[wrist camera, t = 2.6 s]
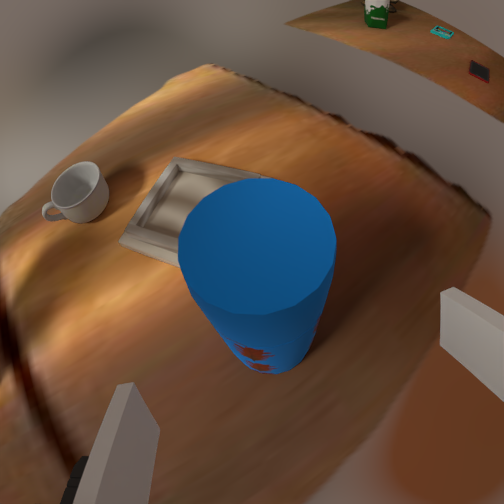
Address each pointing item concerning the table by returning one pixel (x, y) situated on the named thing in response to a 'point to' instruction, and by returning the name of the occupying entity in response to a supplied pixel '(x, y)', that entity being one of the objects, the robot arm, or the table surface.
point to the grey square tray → (174, 206)
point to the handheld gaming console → (441, 33)
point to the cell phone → (479, 71)
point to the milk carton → (376, 13)
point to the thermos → (260, 268)
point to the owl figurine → (391, 8)
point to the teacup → (78, 194)
